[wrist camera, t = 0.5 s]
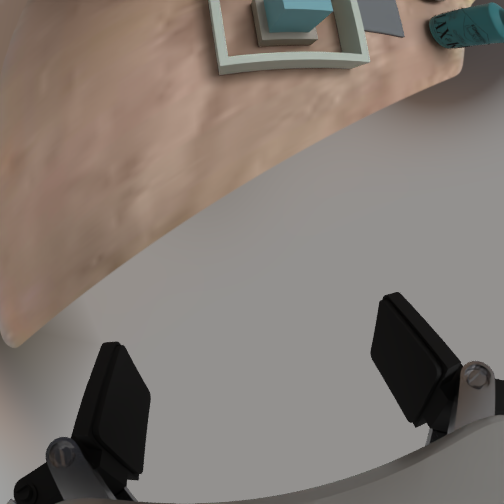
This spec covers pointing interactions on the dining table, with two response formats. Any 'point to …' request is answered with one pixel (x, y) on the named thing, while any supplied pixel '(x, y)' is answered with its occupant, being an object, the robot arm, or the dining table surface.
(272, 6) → the block
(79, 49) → the dining table surface
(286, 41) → the frame
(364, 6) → the mat
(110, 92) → the dining table surface
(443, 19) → the beverage bottle
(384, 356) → the robot arm
